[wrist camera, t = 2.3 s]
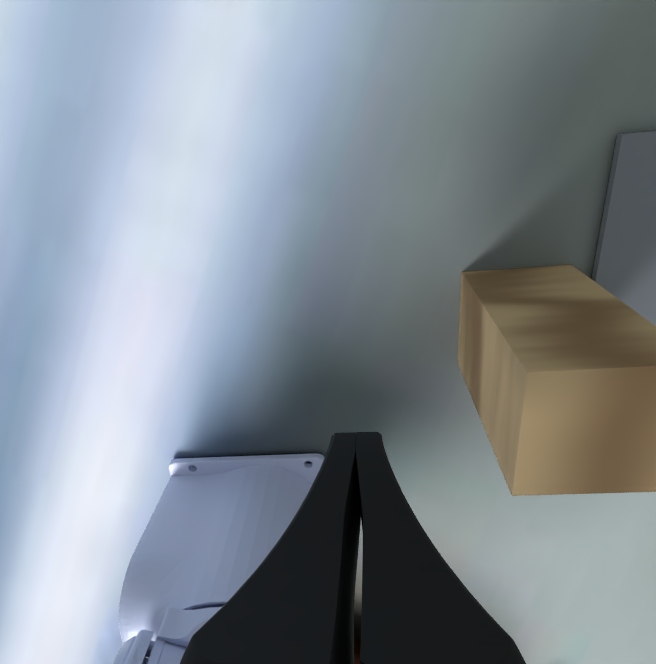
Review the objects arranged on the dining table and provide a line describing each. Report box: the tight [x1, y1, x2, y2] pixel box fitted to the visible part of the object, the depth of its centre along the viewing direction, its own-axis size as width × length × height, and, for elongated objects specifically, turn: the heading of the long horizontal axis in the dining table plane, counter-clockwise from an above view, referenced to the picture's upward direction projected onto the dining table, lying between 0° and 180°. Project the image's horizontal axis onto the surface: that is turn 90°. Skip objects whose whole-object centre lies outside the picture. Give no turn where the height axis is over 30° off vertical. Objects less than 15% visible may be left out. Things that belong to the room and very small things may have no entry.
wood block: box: [458, 265, 656, 496], centre depth 18 cm, size 5×5×9 cm
